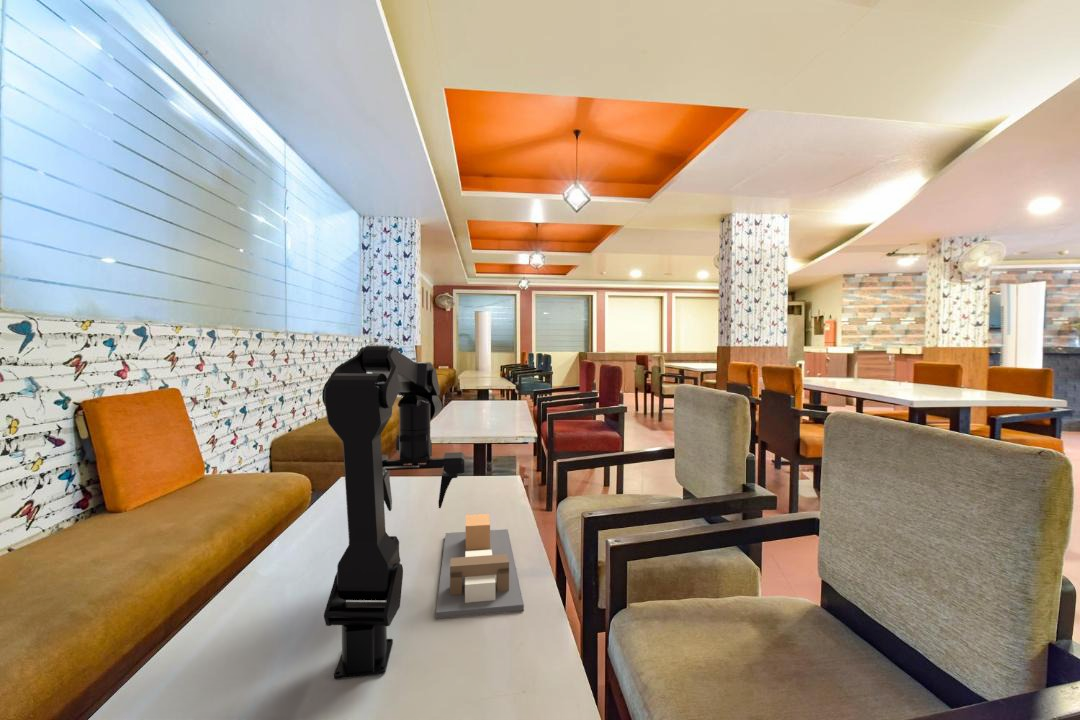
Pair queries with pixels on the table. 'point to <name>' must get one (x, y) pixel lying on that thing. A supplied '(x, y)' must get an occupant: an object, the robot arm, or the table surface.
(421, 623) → the table surface
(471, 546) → the peach cube cap
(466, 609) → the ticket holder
